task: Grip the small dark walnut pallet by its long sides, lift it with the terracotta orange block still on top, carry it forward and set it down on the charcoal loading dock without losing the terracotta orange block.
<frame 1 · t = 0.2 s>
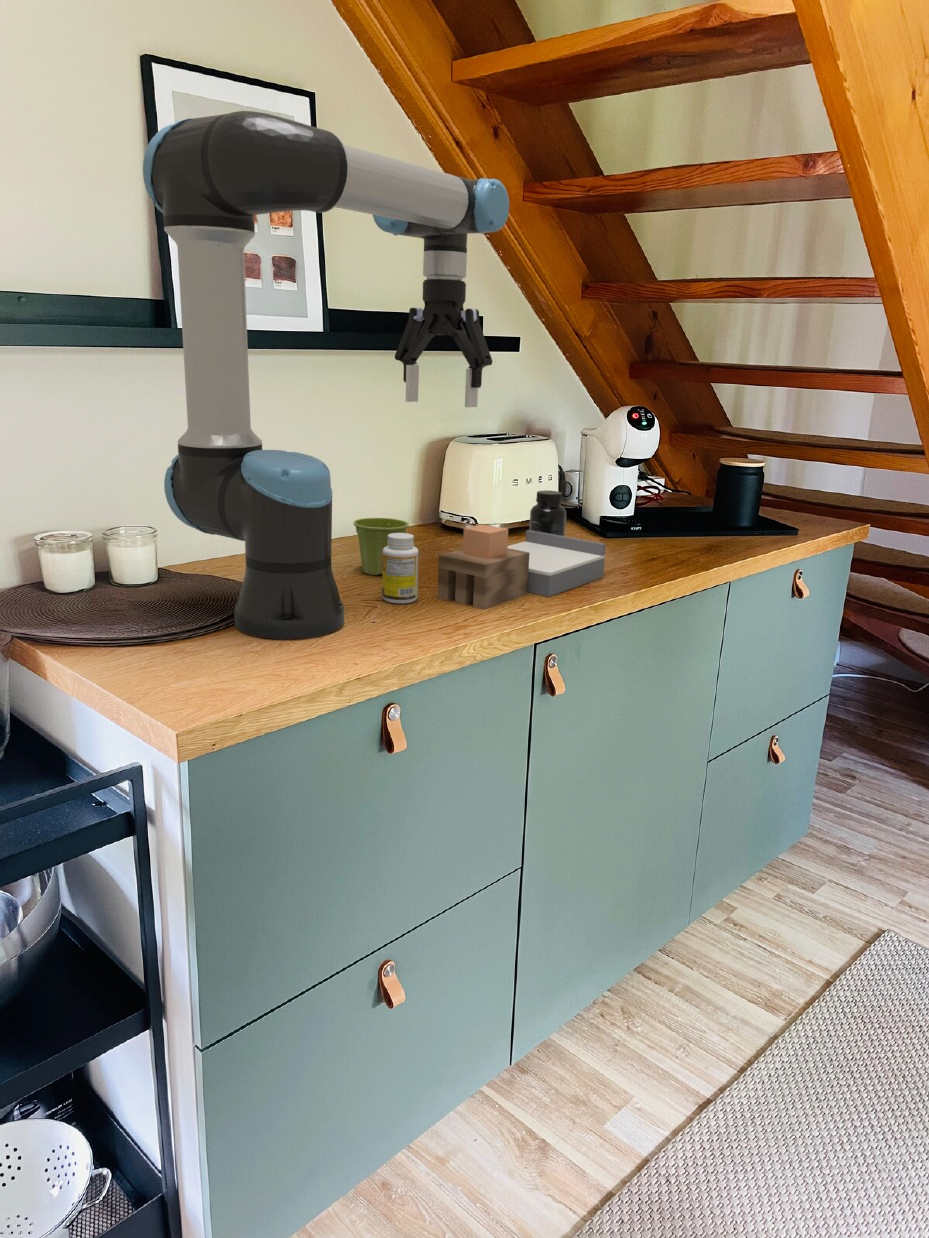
hand: (440, 404, 165), 28 cm above the worktop, tool pointing down, fingers open, 13 cm apart
terracotta orange block: (485, 553, 144), point 7 cm above the worktop, touching pallet
plant pot: (380, 572, 159), on the worktop
supplement bottle 2: (399, 601, 142), on the worktop
supplement bottle: (545, 555, 177), on the worktop
dock: (537, 578, 158), on the worktop
pallet: (482, 596, 146), on the worktop, touching terracotta orange block
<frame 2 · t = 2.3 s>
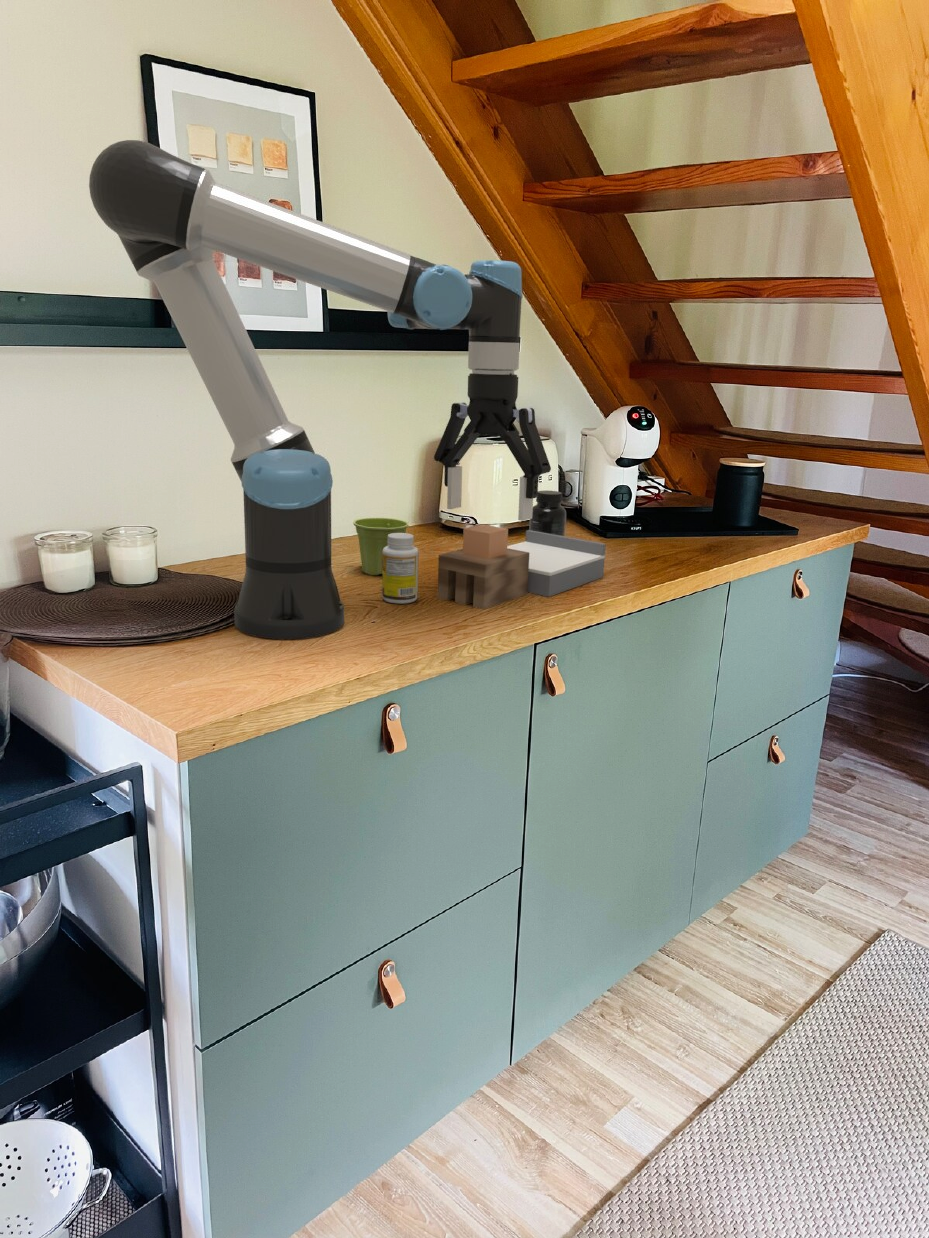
hand: (488, 513, 142), 13 cm above the worktop, tool pointing down, fingers open, 13 cm apart
nothing on the worktop moved.
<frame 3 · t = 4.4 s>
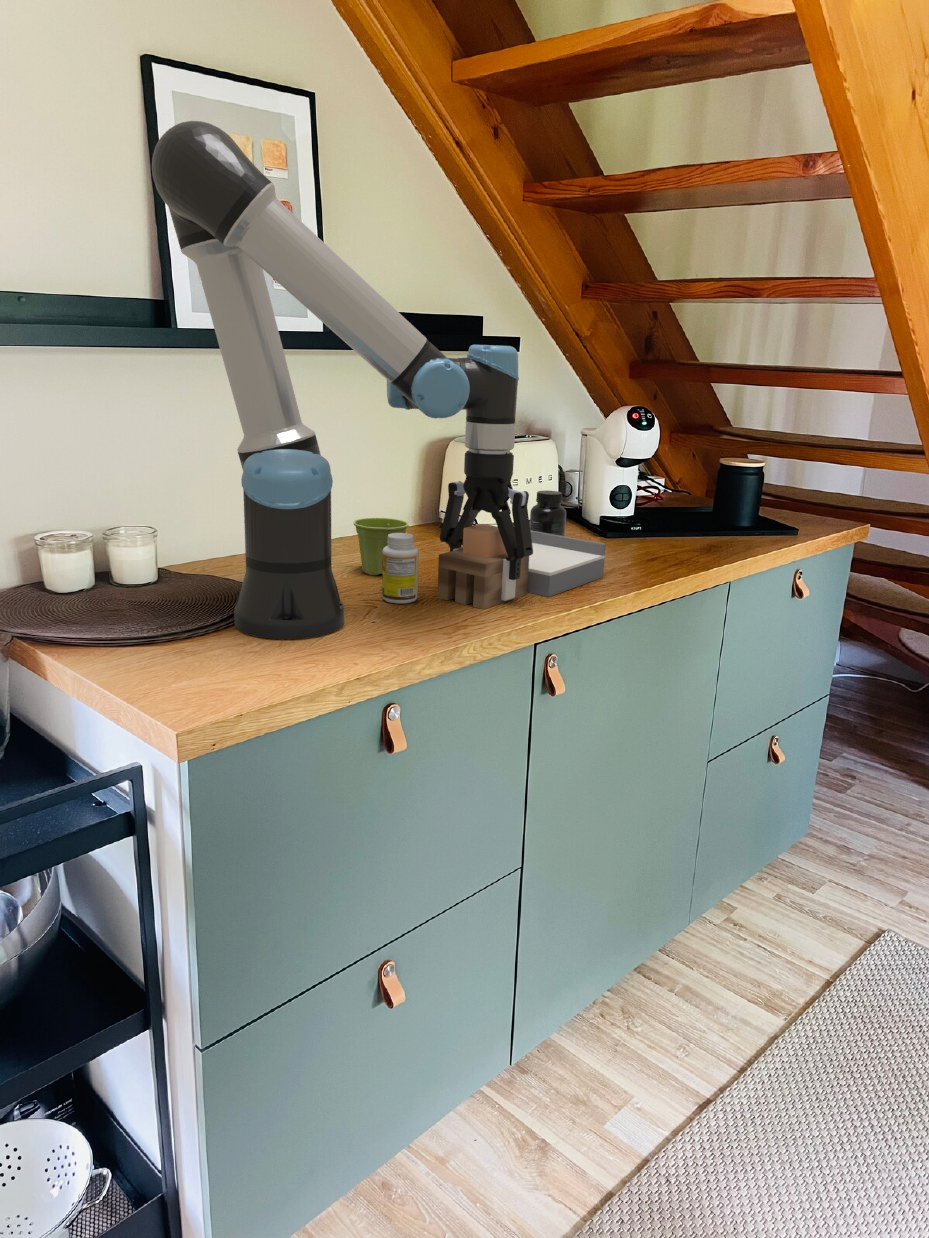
hand: (483, 592, 146), 1 cm above the worktop, tool pointing down, fingers closed on pallet, 9 cm apart
pallet: (482, 596, 146), on the worktop, touching terracotta orange block, gripper
everything else where it was.
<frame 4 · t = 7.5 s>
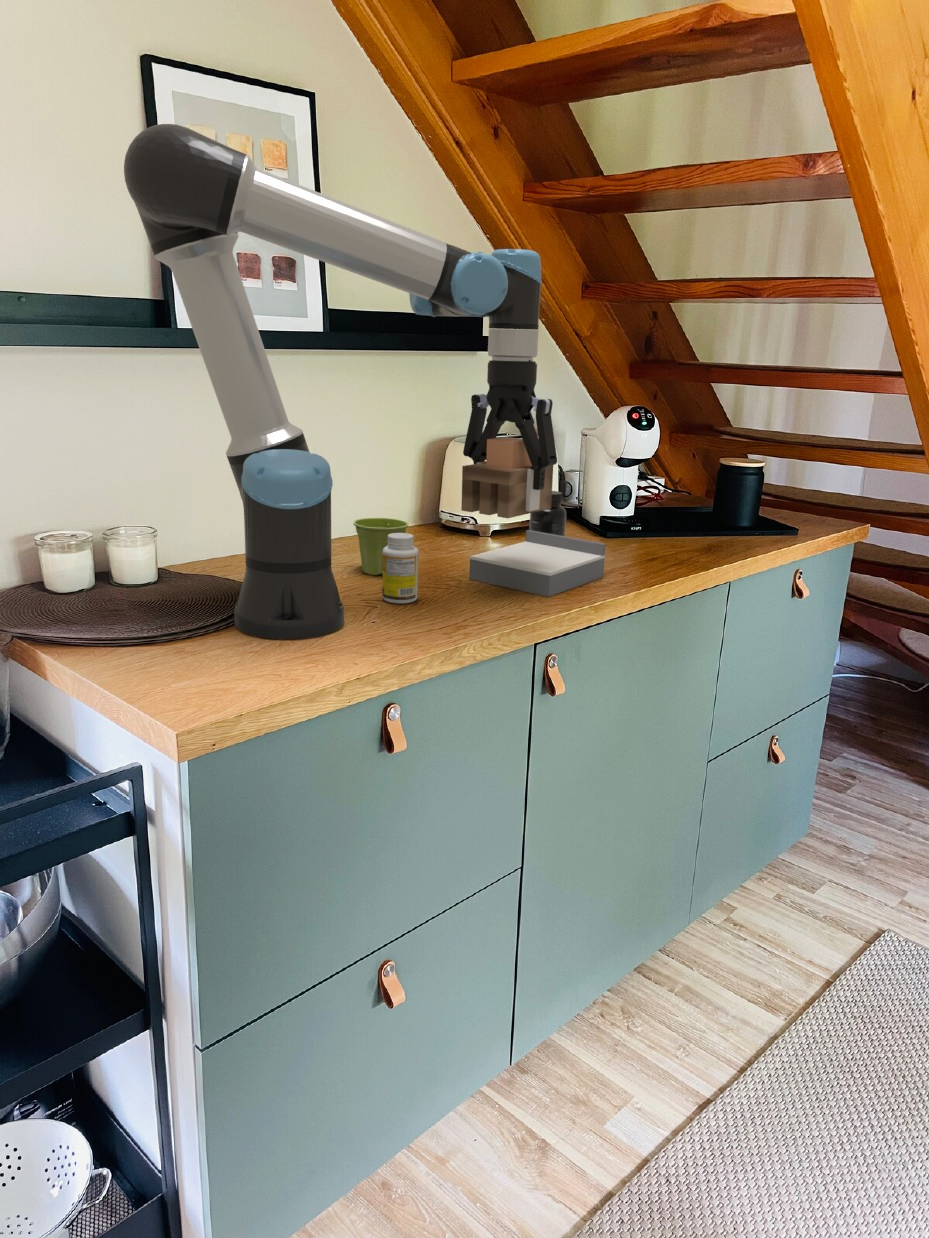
hand: (507, 506, 146), 14 cm above the worktop, tool pointing down, fingers closed on pallet, 9 cm apart
terracotta orange block: (508, 465, 144), point 20 cm above the worktop, touching pallet
pallet: (506, 509, 146), point 13 cm above the worktop, touching terracotta orange block, gripper
everything else where it was.
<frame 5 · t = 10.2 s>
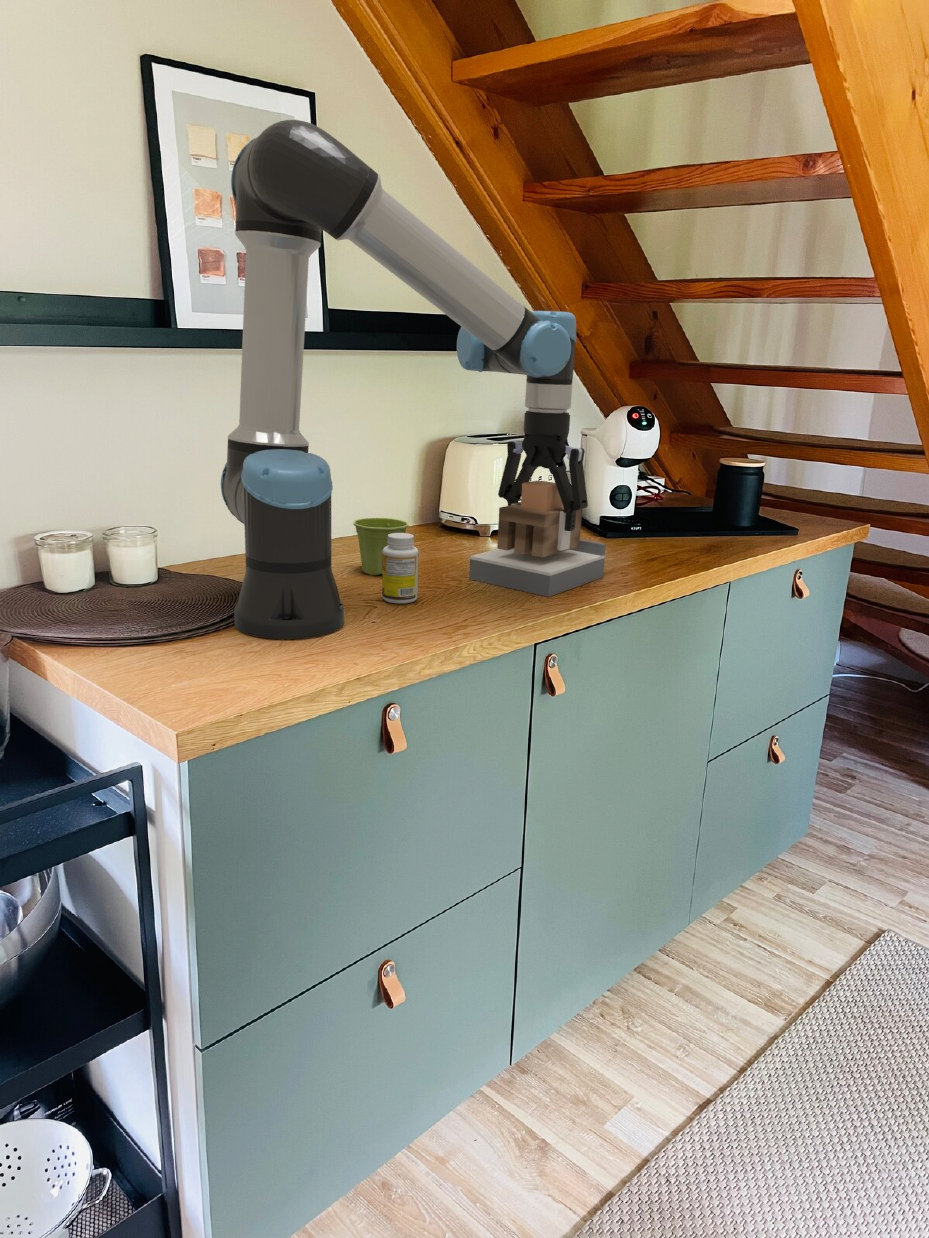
hand: (538, 544, 157), 6 cm above the worktop, tool pointing down, fingers closed on pallet, 9 cm apart
terracotta orange block: (541, 507, 155), point 12 cm above the worktop, touching pallet
pallet: (538, 547, 157), point 5 cm above the worktop, touching terracotta orange block, gripper
everything else where it was.
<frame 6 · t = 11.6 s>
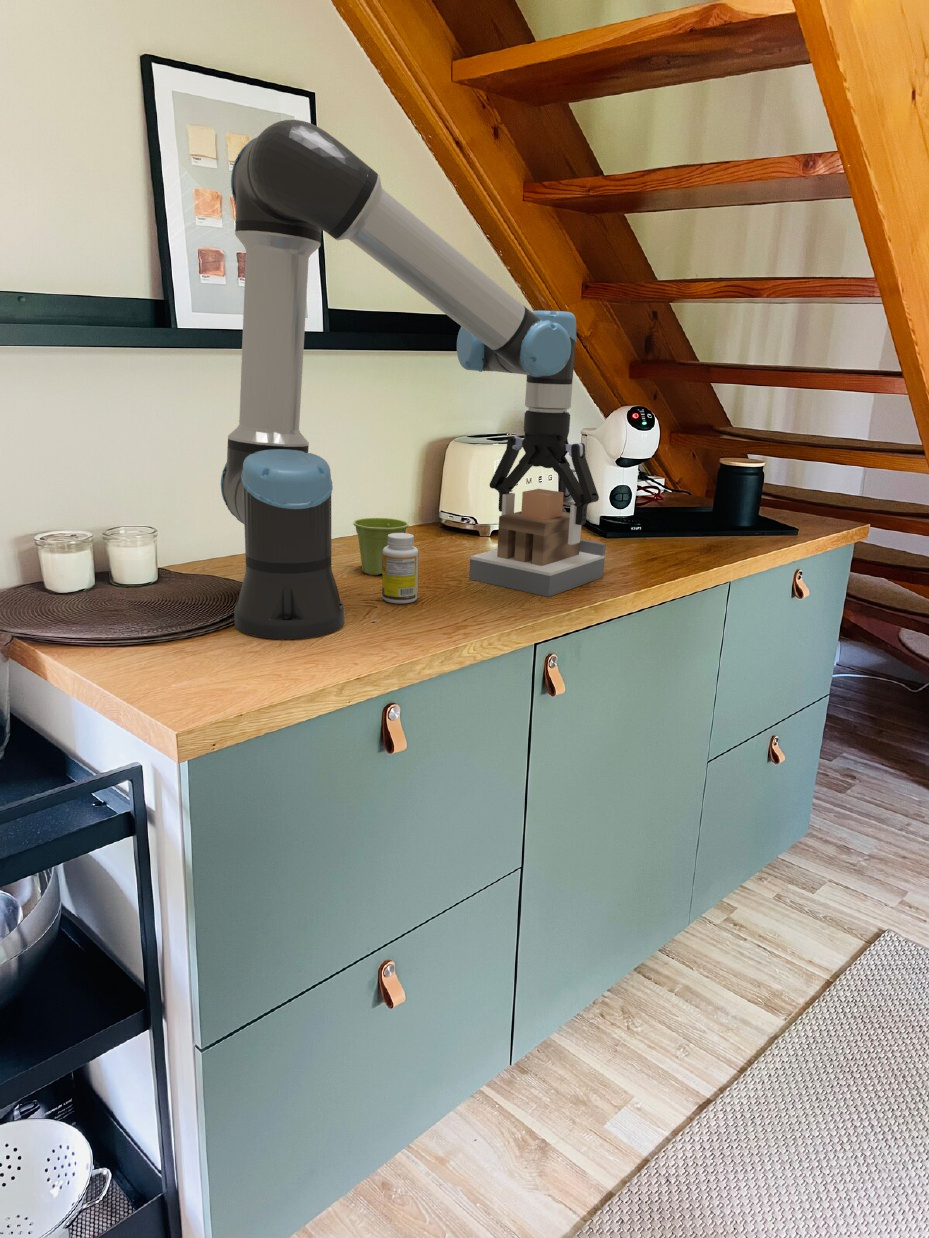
hand: (539, 537, 156), 7 cm above the worktop, tool pointing down, fingers open, 13 cm apart
terracotta orange block: (541, 515, 155), point 11 cm above the worktop, touching pallet
pallet: (538, 555, 157), point 4 cm above the worktop, touching terracotta orange block, dock
everything else where it was.
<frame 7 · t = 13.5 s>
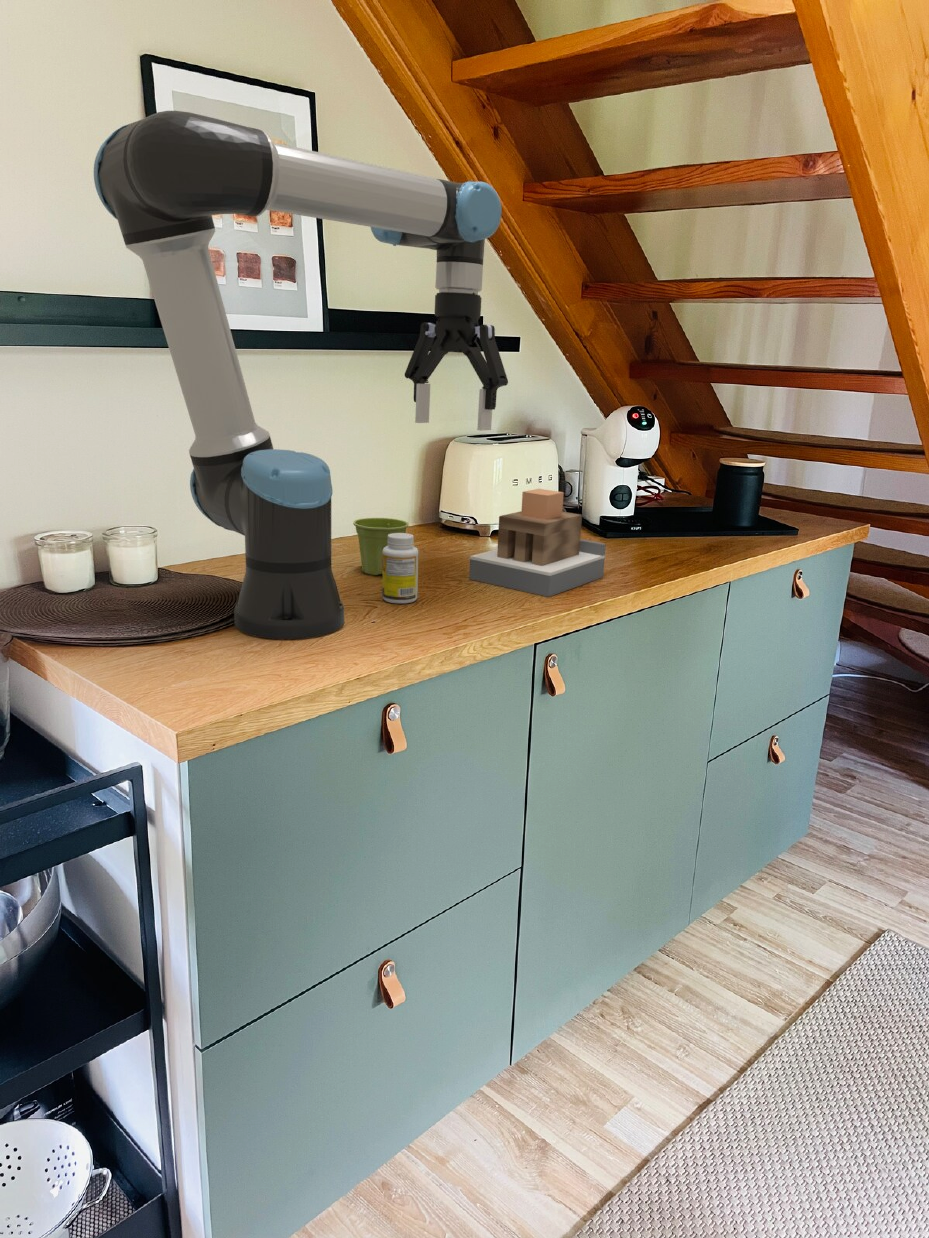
hand: (452, 426, 154), 25 cm above the worktop, tool pointing down, fingers open, 13 cm apart
nothing on the worktop moved.
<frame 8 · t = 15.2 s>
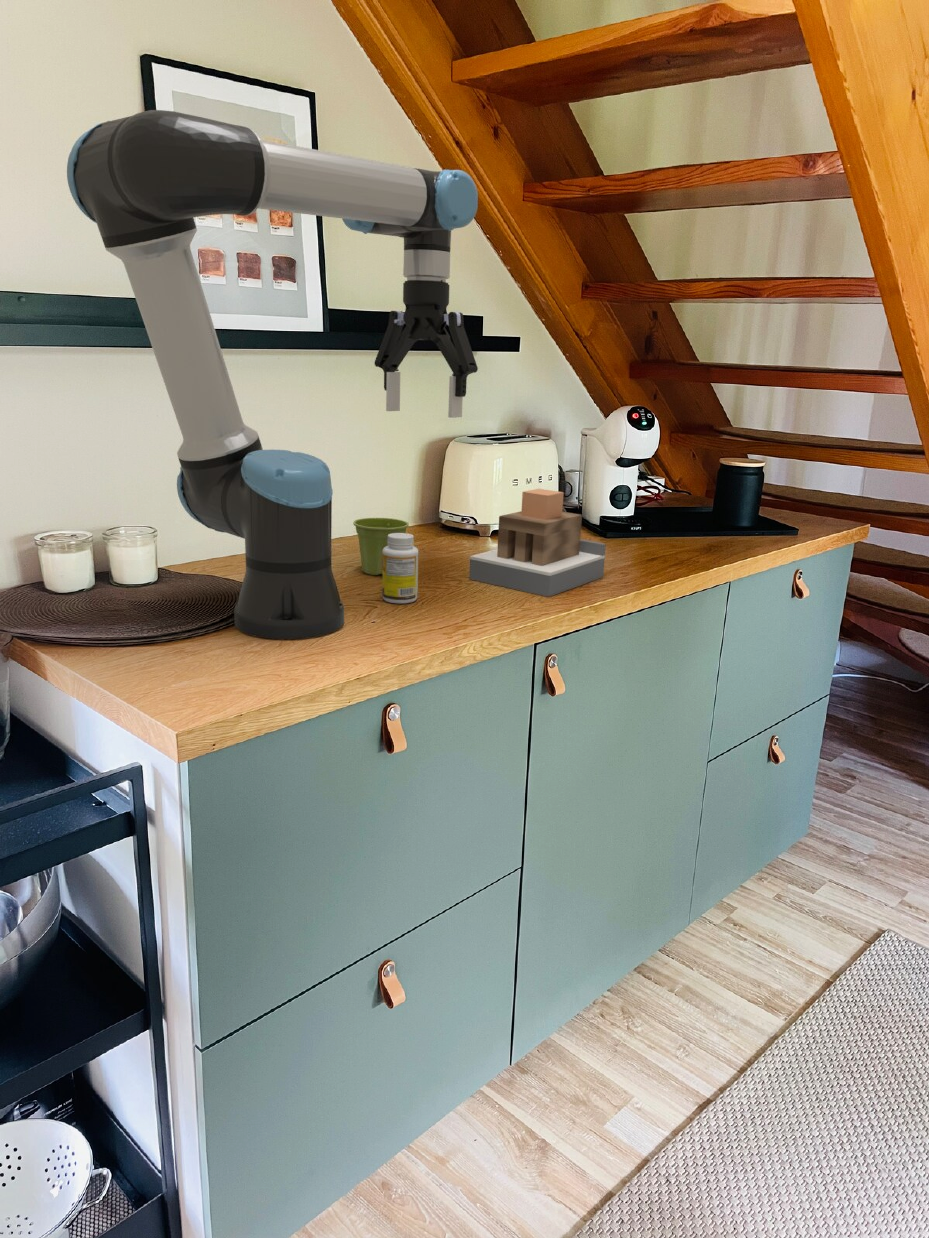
hand: (423, 414, 154), 27 cm above the worktop, tool pointing down, fingers open, 13 cm apart
nothing on the worktop moved.
at the end: pallet inside the target area (0.1 cm from its centre), point 4.0 cm above the worktop; terracotta orange block 0.1 cm off-centre on the pallet, point 7.0 cm above the pallet's base; the gripper is holding nothing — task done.
